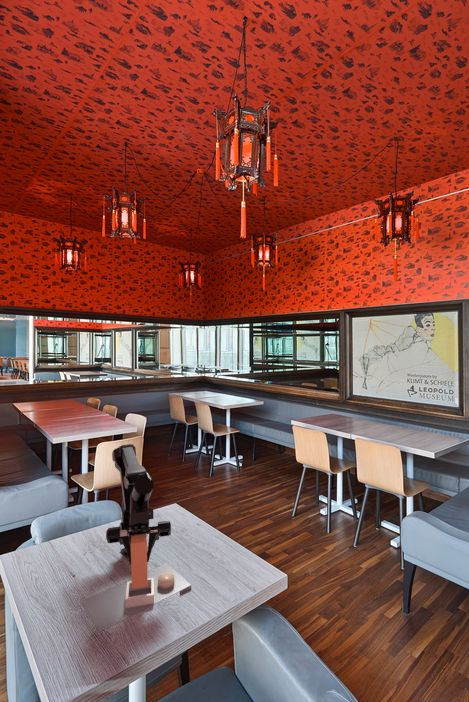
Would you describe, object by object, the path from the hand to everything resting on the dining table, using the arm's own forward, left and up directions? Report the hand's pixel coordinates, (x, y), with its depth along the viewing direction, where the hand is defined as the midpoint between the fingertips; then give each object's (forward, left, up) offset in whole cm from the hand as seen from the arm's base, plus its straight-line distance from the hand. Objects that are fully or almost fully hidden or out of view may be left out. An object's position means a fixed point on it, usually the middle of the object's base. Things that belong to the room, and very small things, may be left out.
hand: (139, 563), depth 107 cm
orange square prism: (-1, +1, -7) cm, 7 cm away
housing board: (-3, +1, -12) cm, 12 cm away
